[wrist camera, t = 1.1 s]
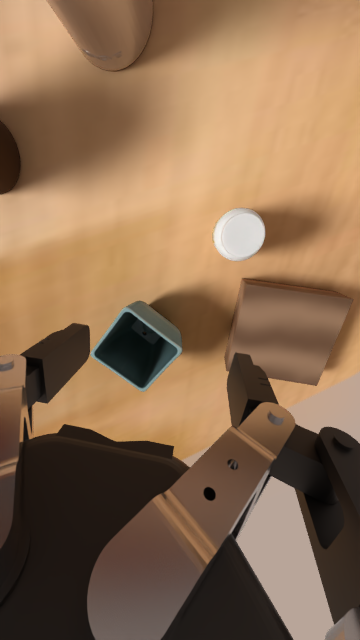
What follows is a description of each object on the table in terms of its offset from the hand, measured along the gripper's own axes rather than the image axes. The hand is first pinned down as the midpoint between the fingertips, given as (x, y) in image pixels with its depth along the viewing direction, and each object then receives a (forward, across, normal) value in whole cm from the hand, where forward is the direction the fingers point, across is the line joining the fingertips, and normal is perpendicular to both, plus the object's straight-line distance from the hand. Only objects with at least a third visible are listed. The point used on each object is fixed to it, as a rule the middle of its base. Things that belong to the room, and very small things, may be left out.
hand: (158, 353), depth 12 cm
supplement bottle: (+22, -5, -6) cm, 24 cm away
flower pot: (+22, +5, +9) cm, 24 cm away
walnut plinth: (+22, -14, +5) cm, 27 cm away
